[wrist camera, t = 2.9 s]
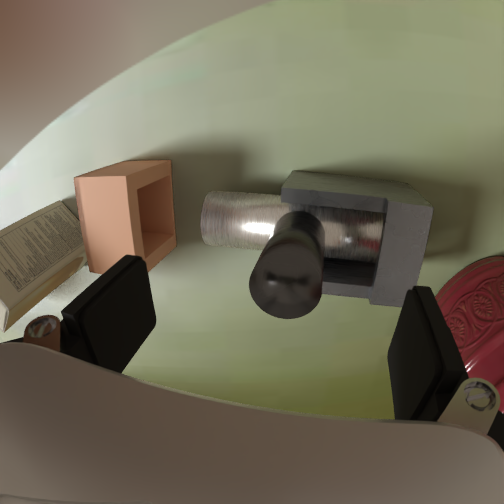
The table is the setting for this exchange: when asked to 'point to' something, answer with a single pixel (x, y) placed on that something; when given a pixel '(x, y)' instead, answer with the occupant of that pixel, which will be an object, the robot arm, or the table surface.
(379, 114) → the table surface
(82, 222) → the socket
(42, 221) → the skincare box
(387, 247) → the sleeve
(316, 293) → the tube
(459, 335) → the canister
